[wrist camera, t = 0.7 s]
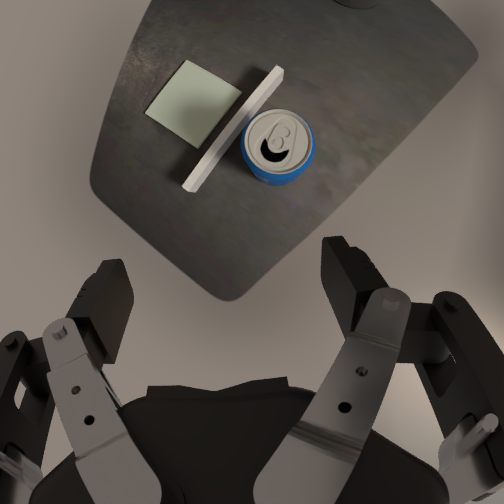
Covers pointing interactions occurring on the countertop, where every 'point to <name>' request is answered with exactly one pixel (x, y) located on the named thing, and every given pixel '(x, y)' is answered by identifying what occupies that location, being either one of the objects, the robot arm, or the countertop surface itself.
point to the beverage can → (277, 146)
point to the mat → (193, 103)
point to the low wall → (233, 129)
